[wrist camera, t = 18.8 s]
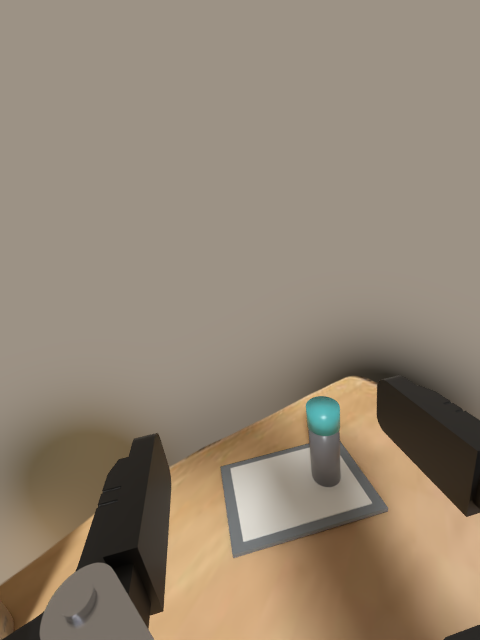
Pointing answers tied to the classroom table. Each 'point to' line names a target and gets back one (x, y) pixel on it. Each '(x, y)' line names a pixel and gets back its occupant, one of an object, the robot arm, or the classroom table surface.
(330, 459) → the marker
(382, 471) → the classroom table surface
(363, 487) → the mat
